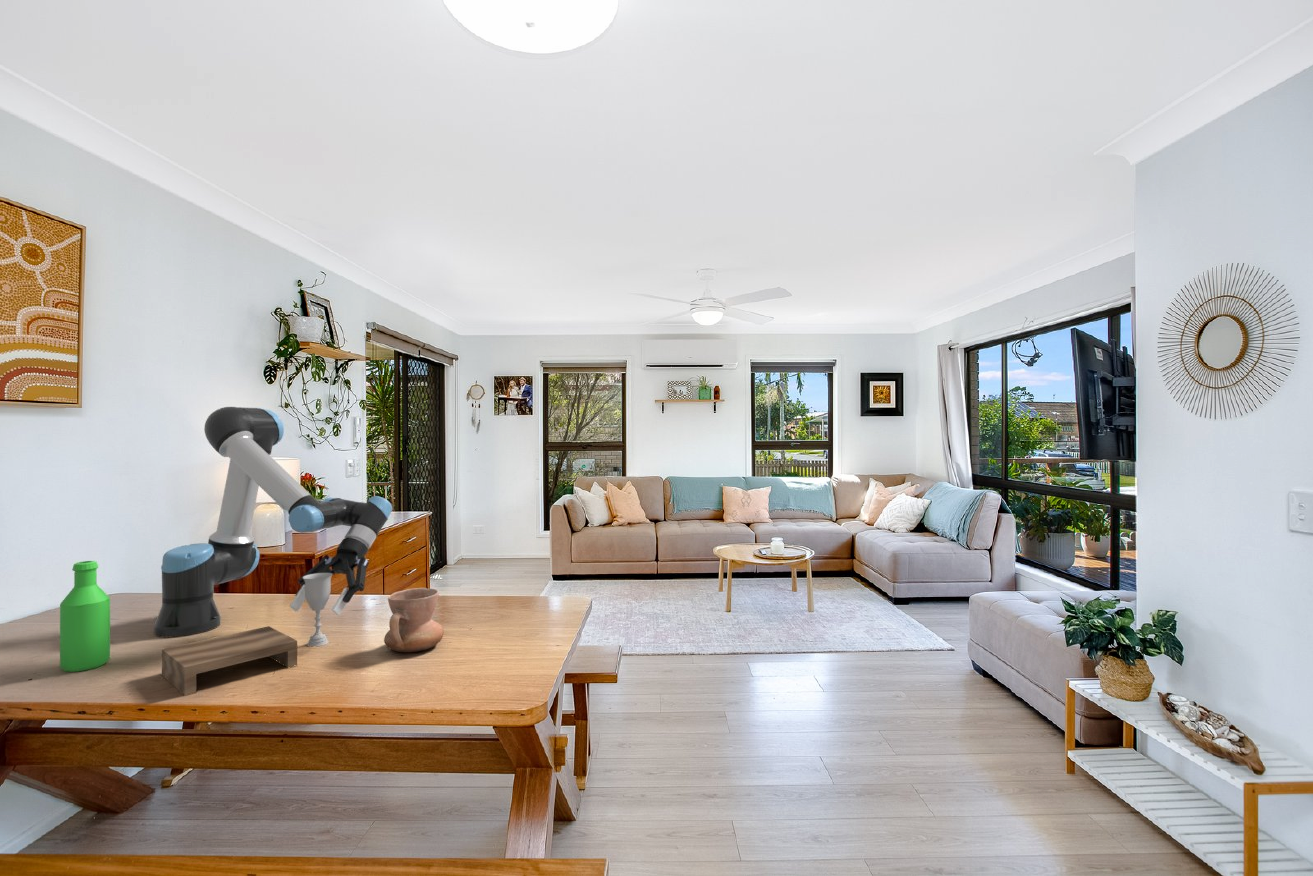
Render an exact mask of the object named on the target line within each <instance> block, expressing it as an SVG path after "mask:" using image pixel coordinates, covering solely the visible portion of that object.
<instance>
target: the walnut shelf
mask: <svg viewBox="0 0 1313 876" xmlns="http://www.w3.org/2000/svg"><path fill="white" fill-rule="evenodd" d="M268 656H269V657H268ZM267 657H268V658H270V657H271V658H270V659H272V660H274V659H275V660H277V661H278V662H277V661H276V662H277V663H279V662H280V663H281V665H282V664H284V665H285V666H287V667H290V668H292V667H291V666H294V665H297V666H298V640H297V639H294V638H293V637H291V636H289V635H287V634H285V633H284V632H282V631H279V630H277V629H275V628H273V627H272V626H269V625H267V626H263V627H258V628H254V629H251V630H250V629H249V630H245V631H240V632H235V633H231V634H225V635H221V636H216V637H211V638H207V639H202V640H197V641H193V642H188V643H185V644H179V645H174V646H169V647H165V648H161V676H162V677H163V678H164V679H165V680H167V681H168V682H169V683H170V684H171V685H172V686H174V688H175V689H176V690H178V691H179V692H180V691H181V692H182V693H183V694H184V695H183V694H182V693H181V692H180V693H181V694H182V695H183V696H188V695H189V696H190V695H193V694H196V693H197V675H198V674H201V673H207V672H209V671H210V672H211V671H214V670H217V669H223V668H226V667H227V668H228V667H230V666H234V665H235V666H236V665H238V664H242V663H245V662H250V661H255V660H258V659H263V658H267ZM275 660H274V661H275ZM280 663H279V664H280ZM284 665H283V666H284ZM285 666H284V667H285ZM287 667H286V668H287ZM294 667H295V666H294ZM192 693H193V694H192Z"/></svg>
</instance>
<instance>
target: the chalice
mask: <svg viewBox="0 0 1313 876" xmlns="http://www.w3.org/2000/svg"><path fill="white" fill-rule="evenodd" d="M332 576H334V575H333V574H332V573H316V574H310V575H306V576H304V577H303V579H304V581H305V597H306V599H305V601H306V602H307V604H308V606H309V607H310V609H311V611H314V612H315V617H314V620H315V624H314V625H313V626H314V628H315V632H314V634H311V636H310V637H309V640H308V642H307V644H306V646H307V645H308V646H307V647H310V646H316V647H321V646H325V645H327V644H329V640H328V638H327V635H326V634H325V633H323V632H322V631H321V627H322V625H323V624H322V623H321V619H322V616H321V611H323V610H324V609H325V608H326V607H325V606H326V605H327V603H328V601H329V599H330V597H331V596H330V595H331V592H332V591H331V589H332V588H331V579H332Z"/></svg>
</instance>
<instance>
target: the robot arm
mask: <svg viewBox="0 0 1313 876" xmlns="http://www.w3.org/2000/svg"><path fill="white" fill-rule="evenodd" d="M203 429H204V435H205V438H206V439H207V442H208V443H209V445H210V446H211V447H212V448H213V449H214V450H215V451H216V452H217V453H218V454H219V455H220V456H221V457H224V458H229V465H228V469H227V474H226V481H225V484H224V490H223V496H222V499H221V501H222V502H221V506H220V510H219V517H218V521H217V527H216V531H214V532H213V533H211V534H210V535H209V536H208V542H207V543H206V542H205V543H202V542H201V543H190V544H188V545H187V544H186V545H181V546H177V547H174V548H172V549H169V550H167V551H166V552H165V553H164V554H163V555H162V560H161V561H162V562H161V563H162V564H161V567H160V569H161V594H162V595H161V600H162V601H161V603H162V604H161V607H160V610H159V612H158V615H157V618H156V621H155V622H154V626H153V628H154V629H153V634H154V636H157V637H161V638H162V636H163V637H164V638H166V636H167V638H169V636H174V637H183V636H189V635H197V634H201V633H204V632H208V631H212V630H213V629H212V628H214V629H216V628H218V627H219V626H220V625H221V624H220V623H221V618H222V617H221V615H220V612H219V609H218V607H217V605H216V603H215V602H216V601H215V600H214V586H216V585H220V584H224V583H227V582H232V581H236V580H239V579H242V578H245V577H246V576H249V575H250V574H251V573H253V571H254V570H255V569H256V568H257V566H258V564H259V561H260V555H261V554H260V550H259V549H258V545H257V544H256V543H255V538H254V536H253V535H252V534H251V528H252V524H253V518H254V513H255V507H256V502H257V498H258V493H259V488H261V490H263V491H264V492H265V494H267V495H268V496H269V497H270V498H271V499H272V500H273V501H275V503H276V504H277V505H279V506H280V508H282V509H283V511H285V513H287V514H288V523H289V526H290V528H291V529H292V530H293V531H294V532H297V533H301V534H303V533H305V534H306V533H314V532H316V531H321V530H325V529H328V528H329V529H331V528H333V527H338V526H346V527H350V528H349V529H348V531H347V532H346V534H345V535H344V538H342V540H341V541H340V543H339V545H338V546H337V548H336V554H335V555H334V556H333V557H332V556H329V555H328V554H325V555H323V557H322V558H321V560H320V561H318V563H316V564H315V565H314V566H313V567H312V568H310V569H309V570H307V571H306V572H305V573H304V574H303V575H302V576H301V577H299V579H297V583H298V584H300V587H299V588H298V590H297V592H296V593H295V597H294V598H293V599H292V600H291V601H292V602H291V603H290V605H289V607H290V608H291V609H292V610H294V611H295V612H299V611H300V608H301V607H302V606H303V604H304V603H305V601H306V597H305V581H304V579H303V577H304V576H306V575H310V574H316V573H332V574H333V575H332V576H334V575H337V574H338V575H339V574H341V575H345V577H346V582H347V585H346V587H344V588H343V590H342V592H341V593H340V595H339V597H338V598H337V599H336V602H335V603H334V604H333V607H332V608H331V611H332V612H333V613H334V614H335V615H336V616H340V615H341V613H342V612H343V610H344V609H345V607H346V605H347V604H348V603H349V602H350V601H351V600H352V598H353V596H354V594H356V593H357V592H363V591H364V590H365V583H366V577H367V576H366V575H367V569H368V566H369V563H370V562H369V561H368V559H367V558H365V557H366V556H367V553H368V552H369V549H371V547H372V545H373V543H374V542H375V540H376V539H377V537H378V536H379V535H378V534H380V532H381V530H382V528H383V527H384V526H385V523H387V521H388V520H389V517H390V515H391V514H392V511H393V505H392V503H391V502H390V501H389V500H387V499H386V498H384V497H381V496H379V495H375V496H374V495H373V496H372V497H369V499H368V500H367V501H366V502H360V501H355V500H349V499H345V498H344V499H343V498H341V497H326V498H324V499H323V501H321V502H319V500H317V499H316V498H315V497H314V496H313V495H312V494H311V493H310V492H309V491H308V490H307V489H305V487H303V486H302V485H301V483H300V482H298V481H297V479H295V478H294V477H293V476H292V475H291V474H290V473H289V472H287V471H286V469H284V468H283V466H281V465H280V464H279V463H278V461H276V460H275V459H274V458H273V457H272V456H271V455H272V452H273V451H272V449H273V447H274V446H275V445H278V443H279V442H281V441H282V439H283V436H284V435H285V434H284V432H285V431H284V429H285V428H284V424H283V421H282V419H281V418H280V416H279V415H278V414H277V413H276V412H274V411H272V410H270V409H264V408H260V407H259V408H258V407H242V406H241V407H239V406H238V407H236V406H225V407H220V408H218V409H216V410H215V411H213V412H211V413H210V414H209V415H208V417H207V418H206V420H205V423H204V428H203ZM356 567H357V568H356ZM355 568H356V573H355ZM217 626H218V627H217ZM215 627H216V628H215ZM200 632H201V633H200Z"/></svg>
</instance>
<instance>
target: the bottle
mask: <svg viewBox="0 0 1313 876" xmlns="http://www.w3.org/2000/svg"><path fill="white" fill-rule="evenodd" d="M97 569H99V564H98V562H97V561H96V560H85V561H84V560H83V561H79V562H76V563H74V564H73V566H72V571H73V572H74V577H73V578H74V580H73V581H74V582H73V584H74V585H73V587H72V589H71V590H70V591H69V592H68V594H67V595H66V596H65V598H64V599H63V600H62V601H61V602H60V604H59V606H60V607H59V668H60V670H63V671H65V672H68V673H69V672H70V673H76V672H83V671H84V672H85V671H89V670H93V669H96V668H99V667H102V666H104V665H105V664H106V663H107V662H108V661H110V660H111V597H110V596H109V595H108V594H107V593H106V592H105V591H104V590H103V589H102V588H101V587H100V586H99V585H98V584H97V579H98V578H97V572H98V571H97Z"/></svg>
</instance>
